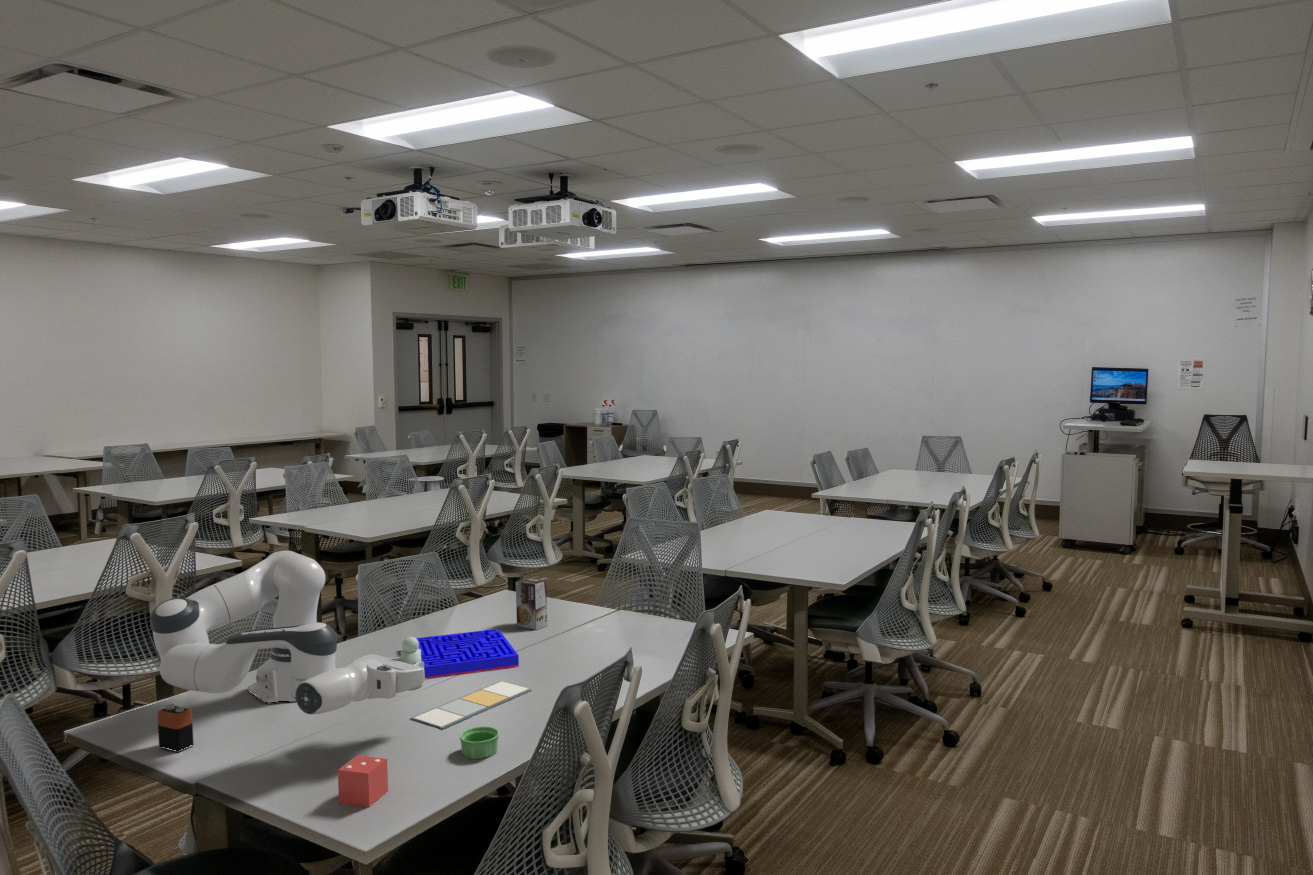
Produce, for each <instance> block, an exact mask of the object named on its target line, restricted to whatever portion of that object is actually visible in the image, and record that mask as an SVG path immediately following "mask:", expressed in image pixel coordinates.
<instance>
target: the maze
mask: <svg viewBox="0 0 1313 875" xmlns="http://www.w3.org/2000/svg"><path fill="white" fill-rule="evenodd" d="M415 638H416V639H417V640H418V642H419V648H418V649H420V650H421V661H422V662H424V672H425V678H428V679H434V678H433V677H435V678H442V677H441V676H443V677H449V676H455V675H456V676H457V675H464V673H466V674H470V673H471V672H474V673H478V672H477V671H481V672H486V671H485V670H489V671H494V670H493V669H496V670H502V669H503V668H504V669H509V668H510V667H511V668H517V667H519V666H520V665H519V662H520V659H519V658H520V657H519V654H518V652H517V651H516V650H515V648H514V647H513V646H512V645H511V643H510V642H509V640H508V639H507V638H506V637H505V636H504V634H503V633H502V632H501V630H497V629H496V628H494V629H484V630H476V631H475V630H474V631H468V632H458V633H450V634H441V635H431V636H423V637H415ZM471 674H472V673H471Z"/></svg>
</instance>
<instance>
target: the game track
mask: <svg viewBox="0 0 1313 875" xmlns="http://www.w3.org/2000/svg"><path fill="white" fill-rule="evenodd" d="M531 691H532V689H530V688H528V687H525V686H520V685H516V684H513V683H509V682H505V681H498V682H495V683H493V684H491V685H488V686H486V687H483V688H480V689H478V690H476V691H473V692H471V693H468V694H466V695H463V696H461V697H458V698H456V699H454V700H452V701H451V700H450V701H449V702H446V703H444V704H442V705H439V706H436V707H433V708H432V709H429V710H426V711H424V712H422V713H420V714H417V715H415V716H412V717H410V720H412V721H416V722H418V723H421V724H425V725H428V726H430V727H433V726H434V728H436V727H437V729H440V730H446V729H447V728H450V727H452V726H454V725H456V724H459V723H461V722H463V720H464V721H466V720H468V719H470V718H473V717H475V716H478V715H479V713H480V714H482V713H484V712H486V711H488V709H489V710H491V709H493V708H495V706H496V707H497V705H498V706H500V705H501V704H504V702H505V703H506V701H507V702H509V701H512V700H514V699H515V698H519V697H520V696H523V695H525V694H527V693H529V692H531ZM490 708H491V709H490ZM485 710H486V711H485ZM483 711H484V712H483ZM481 712H482V713H481ZM474 715H475V716H474ZM472 716H473V717H472Z"/></svg>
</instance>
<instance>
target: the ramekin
mask: <svg viewBox="0 0 1313 875" xmlns="http://www.w3.org/2000/svg"><path fill="white" fill-rule="evenodd" d="M499 736H500V731H499V730H498V728H495V727H493V726H486V725H485V726H483V725H482V726H480V725H479V726H473V727H469V728H467V729H464V730H463V731H461V733H460V734H459V740H460V745H461V746H460V747H461V753H462V755H463V756H464V757H465V758H468V759H472V760H481V759H487V758H490V757H492V756H494V755H495V754H496V753H497V752H498V748H499V747H498V744H499Z"/></svg>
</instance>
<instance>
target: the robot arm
mask: <svg viewBox="0 0 1313 875" xmlns="http://www.w3.org/2000/svg"><path fill="white" fill-rule="evenodd" d="M325 583H326V573H325V570H324V569H323V567H322V565H320V563H318V561H316V560H315V559H314V558H311V557H308V556H306V555H303V554H300V553H297V552H295V551H292V550H280V551H279V550H278V551H276V552H273V553H270V555H268V556H267V557H266V558H265V559H262V560H261V561H260V562H258V563H256V564H255V565H253V566H251V567H249V568H248V569H246V570H244V571H242V572H240V573H238V574H235V575H233V576H230V577H228V578H226V579H223V580H221V581H218V582H216V583H213V584H211V585H208V586H206V587H204V588H203V589H200V590H198V591H196V592H194V593H193V594H191V595H189V596H187V597H174V598H170V599H167V600H164V601H163V602H161V603H159V604H157V606H156V607H155V608H154V609H153V610H152V612H151V613H150V618H149V624H150V629H151V631H152V636H153V641H154V645H155V648H156V651H157V653H158V654H159V657H160V658H161V660H160V665H159V673H160V675H161V676H160V677H161V678H162V679H163V681H164V682H166V683H167V684H168V685H171V686H174V687H176V688H180V689H184V690H188V691H192V692H193V691H194V692H200V693H207V694H208V693H209V694H224V693H228V692H230V691H232V690H234V689H235V688H237V687H238V686H239V685H240V684H241V683H242V682H243V681H244V679H245V678H246V677H247V675H248V674H249V671H250V669H251V667H252V664H253V661H254V659H255V656H256V654H257V653H258V651H259V650H263V649H268V650H270V656H269V658H268V659H267V660H266V661H265V662H264V663H263V664H261V665H260V666H259V667H258V669H257V671H256V676H255V680H256V682H254V683H252V684H250V685H249V686H247V687H246V688H247V689H248V690H250V691H251V692H252V693H254V694H256V695H257V696H258V697H260V698H261V699H263V700H264V701H265V702H276V703H279V702H278V701H289V702H296V704H297V706H298V708H299V709H300V710H301V712H303V713H304V714H307V715H318V714H319V715H320V714H326V713H329V712H332V711H336V710H339V709H342V708H345V707H346V706H348V705H350V704H351V703H354V702H355V703H357V702H362V701H364V700H367V699H368V700H370V699H393V698H395V697H396V696H397V694H398V693H404V692H407V690H410V689H412V688H415V687H417V686H419V685H421V684H422V685H423V684H424V682H425V672H424V662H422V661H417V662H415V664H414V665H412V664H408V663H405V662H401V656H399V657H386V656H381V655H379V654H375V653H370V654H366V655H363V656H360V657H358V658H355V659H353V660H352V661H351V662H350V663H348V664H347V665H345V666H343V667H336V665H337V663H336V662H337V653H336V652H337V648H338V638H339V635H338V633H337V631H335V629H334V628H332V627H331V625H329V624H328V623H325V622H318V621H317V611H318V605H319V599H320V594H321V591H322V589H323V588H324V586H325ZM276 597H278V601H277V606H276V611H275V613H274V614H273V617H272V625H273V626H272V627H271V628H257V629H250V630H249V629H248V630H245V631H239V632H237V633H234V634H231V635H230V636H228V638H227V639H226V641H225V642H223V643H210V639H209V636H208V632H210V631H213V630H216V629H219V628H222V627H224V626H227V625H229V624H231V623H233V622H236V621H238V620H241V619H243V618H246V617H248V616H251V615H252V614H254V613H256V612H258V611H260V610H261V609H262V608H263V607H264V606H265V605H266V604H268V603H269V602H270V601H272V600H274V599H275V598H276ZM265 702H264V703H265ZM289 702H288V703H289Z"/></svg>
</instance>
